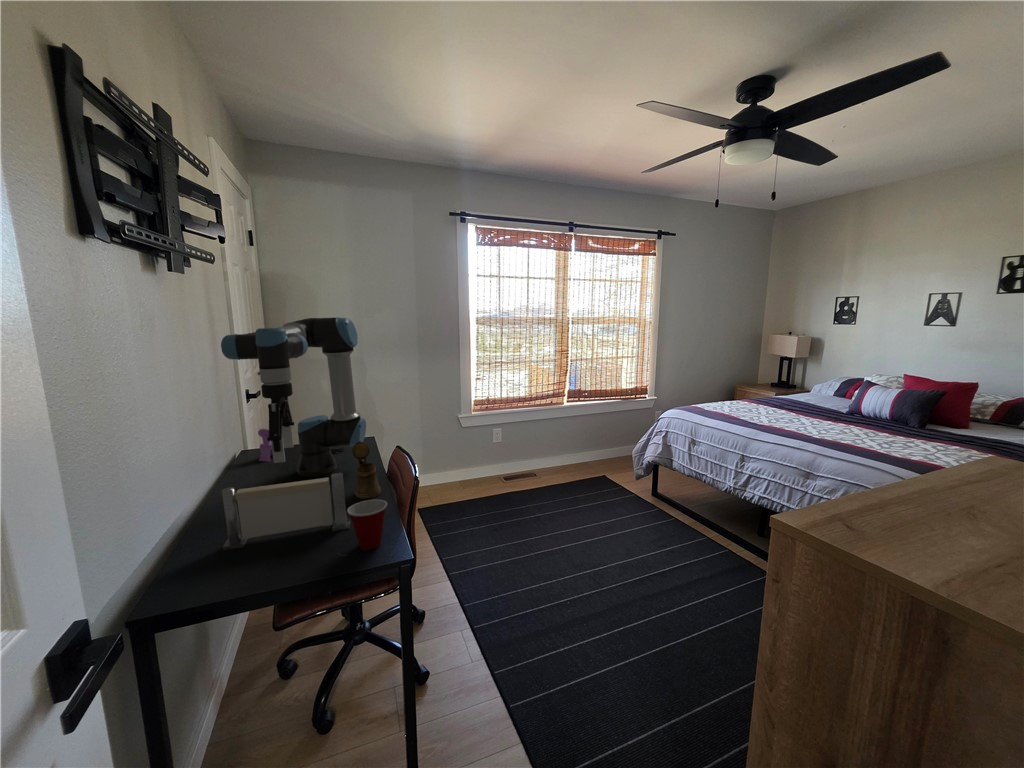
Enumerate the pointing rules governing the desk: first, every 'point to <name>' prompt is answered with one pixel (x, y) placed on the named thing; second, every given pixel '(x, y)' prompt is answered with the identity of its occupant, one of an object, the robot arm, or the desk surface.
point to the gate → (284, 507)
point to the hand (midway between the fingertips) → (284, 454)
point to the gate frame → (238, 542)
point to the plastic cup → (368, 522)
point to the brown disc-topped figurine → (365, 473)
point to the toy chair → (265, 445)
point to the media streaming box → (336, 449)
